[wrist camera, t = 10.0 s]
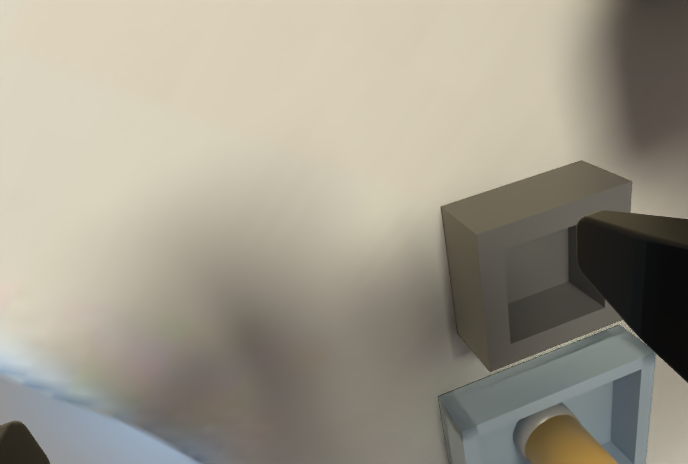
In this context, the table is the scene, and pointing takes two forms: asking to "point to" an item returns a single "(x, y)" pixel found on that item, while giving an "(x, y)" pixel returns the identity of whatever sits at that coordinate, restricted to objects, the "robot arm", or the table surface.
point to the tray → (557, 400)
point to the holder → (528, 262)
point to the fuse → (558, 439)
